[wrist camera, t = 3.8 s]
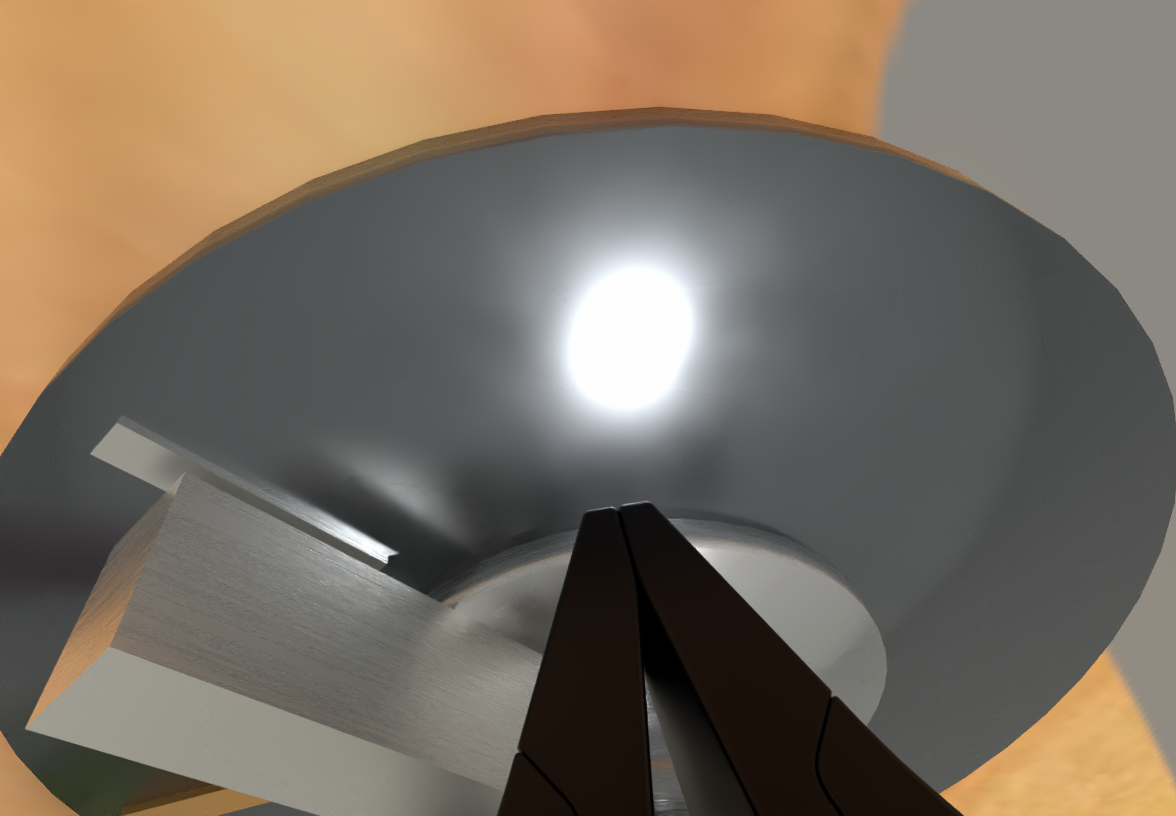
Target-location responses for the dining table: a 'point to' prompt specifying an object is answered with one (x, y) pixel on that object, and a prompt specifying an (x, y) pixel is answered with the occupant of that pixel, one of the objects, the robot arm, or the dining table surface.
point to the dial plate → (627, 402)
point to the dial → (373, 658)
